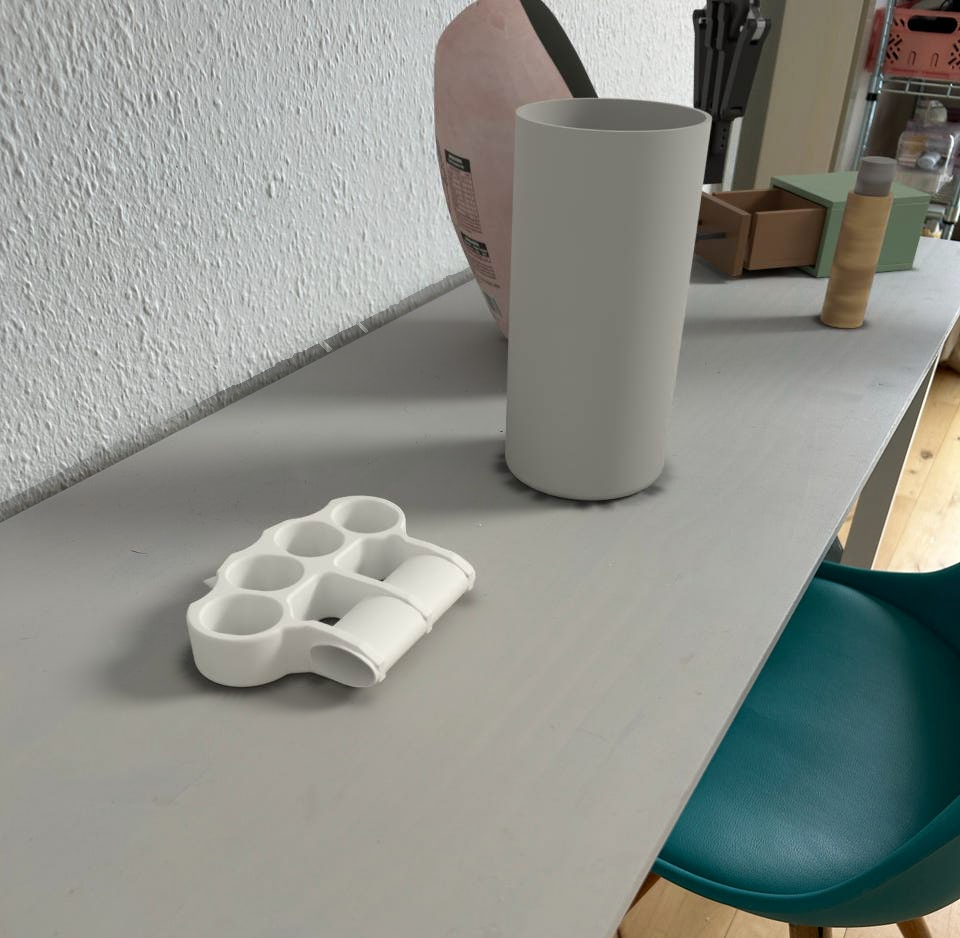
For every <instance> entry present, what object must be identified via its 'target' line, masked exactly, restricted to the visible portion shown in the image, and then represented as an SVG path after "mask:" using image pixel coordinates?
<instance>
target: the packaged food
mask: <svg viewBox="0 0 960 938" xmlns="http://www.w3.org/2000/svg"><path fill="white" fill-rule="evenodd" d="M572 43H573V42H571V40H570V38H569V36H568V34H567V32H566V30H564V28H563V26H562V25H561V23H560V22H559V20H558V19H557V17H556V15H555V14H554V12H552V11H551V9H550V8H549V6H548V5H546V3H545V2H544V1H543V0H476V1H473V2H472V3H470V4H469V5H467V6H466V7H464V9H462V10H461V11H460V12H459V13H458V14H457V15H456V16H455V17H454V18H453V19H452V20H451V21H450V22H449V23H448V25H447V26H446V27H445V29H443V31H442V32H441V34H440V36H439V38H438V40H437V44H436V47H435V53H434V63H433V117H434V118H433V121H434V124H433V125H434V137H435V146H436V147H435V148H436V156H437V163H438V168H439V174H440V180H441V184H442V189H443V190H442V191H443V194H444V199H445V203H446V207H447V210H448V213H449V216H450V219H451V223H452V227H453V228H454V231H455V234H456V236H457V239H458V241H459V244H460V246H461V249H462V251H463V254H464V256H465V259H466V260H467V263H468V266H469V267H470V270H471V272H472V274H473V277H474V279H475V282H476V284H477V286H478V288H479V290H480V293H481V294H482V297H483V298H484V301H485V303H486V305H487V307H488V310H489V311H490V313H491V315H492V317H493V320H494V321H495V323H496V324H497V326H498V328H499V330H500V331H501V333H502V334H503V335H504V336H505V338H506V339H507V340H508V341H509V309H510V277H511V245H512V213H513V181H514V149H515V117H516V110H517V109H518V108H519V107H521V106H523V105H526V104H530V103H534V102H540V101H547V100H556V99H571V98H600V97H599V96H598V93H597V91H596V89H595V87H594V85H593V83H592V81H591V79H590V76H589V74H588V72H587V70H586V68H585V65H584V64H583V62H582V60H581V58H580V56H579V54H578V52H577V50H576V48H575V47H574V45H573V44H572Z"/></svg>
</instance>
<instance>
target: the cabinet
mask: <svg viewBox="0 0 960 938" xmlns="http://www.w3.org/2000/svg"><path fill="white" fill-rule="evenodd" d="M857 175H858V170H854V171H851V170H850V171H837V172H836V171H835V172H820V173H801V174H790V175H789V174H786V175H771V176H770V181H769V187H768V189H769V188H783V189H786V190H788V191H790V192H793V193H795V194H797V195H800V196H802V197H804V198H807V199H809V200H812V201H814V202H816V203H819V204H821V205H823V206H826V207H828V210H827V215H826V219H825V224H824V229H823V234H822V238H821V243H820V248H819V252H818V257H817V262H816V264H813V265H801V266H795V268H798V269H799V270H801V271H803V272H805V273H807V274H809V275H811V276H812V277H814V278H817V279H819V278H828V277H830V272H831V268H832V263H833V259H834V254H835V250H836V245H837V241H838V236H839V232H840V227H841V223H842V218H843V214H844V209H845V205H846V200H847V196H848V191H849V190H850V189H853V188H855V183H856V179H857ZM890 192H892V193H894V199H893V203H892V207H891V211H890V215H889V219H888V223H887V227H886V231H885V235H884V239H883V243H882V247H881V251H880V255H879V259H878V263H877V267H876V271H875V273H883V272H894V271H906V270H912V269H913V266H914V262H915V259H916V258H915V257H916V254H917V252H918V251H917V250H918V246H919V243H920V240H921V236H922V232H923V230H924V229H923V228H924V225H925V221H926V216H927V214H928V209H929V205H930V202H931V199H932V194H930V193H928V192H924V191H921V190H918V189H916V188H913V187H910V186H907V185H905V184H901V183H899V182H896V181H894V180H893V181H892V185H891V189H890Z"/></svg>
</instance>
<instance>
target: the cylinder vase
mask: <svg viewBox="0 0 960 938" xmlns="http://www.w3.org/2000/svg"><path fill="white" fill-rule="evenodd" d="M711 122H712V117H711V115H710V114H708V113H706V112H704V111H702V110H699V109H696V108H694V107H693V106H687V105H683V104H677V103H672V102H665V101H657V100H648V99H636V98H635V99H634V98H619V97H617V98H616V97H599V98H571V99H556V100H547V101H540V102H534V103H530V104H526V105H523V106H521V107H519V108H518V109H517V110H516V117H515V149H514V181H513V213H512V245H511V277H510V309H509V340H508V345H507V346H508V347H507V376H506V377H507V378H506V410H505V415H506V416H505V441H504V443H505V444H504V458H505V462H506V465H507V468H508V469H509V471H510V472H511V473H512V475H514V477H515V478H516V479H518V480H519V481H520V482H522V483H523V484H525V485H526V486H527V487H529V488H532V489H533V490H536V491H537V492H540V493H543V494H547V495H550V496H553V497H558V498H561V499H562V498H563V499H570V500H577V501H606V500H613V499H620V498H624V497H625V498H626V497H628V496H632V495H634V494H636V493H637V494H638V493H639V492H641V491H643V490H645V489H647V488H648V487H650V486H651V485H652V484H654V483H655V482H656V481H657V480H658V479H659V478H660V476H661V474H662V472H663V469H664V467H665V462H666V455H667V454H666V453H667V447H668V440H669V432H670V425H671V418H672V411H673V404H674V395H675V390H676V389H675V388H676V383H677V373H678V369H679V368H678V367H679V359H680V352H681V345H682V337H683V332H684V323H685V317H686V310H687V309H686V308H687V302H688V295H689V287H690V281H691V273H692V266H693V260H694V259H693V258H694V253H693V252H694V245H695V238H696V231H697V223H698V216H699V209H700V202H701V195H702V191H703V187H704V185H703V180H704V173H705V166H706V158H707V151H708V144H709V137H710V130H711Z"/></svg>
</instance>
